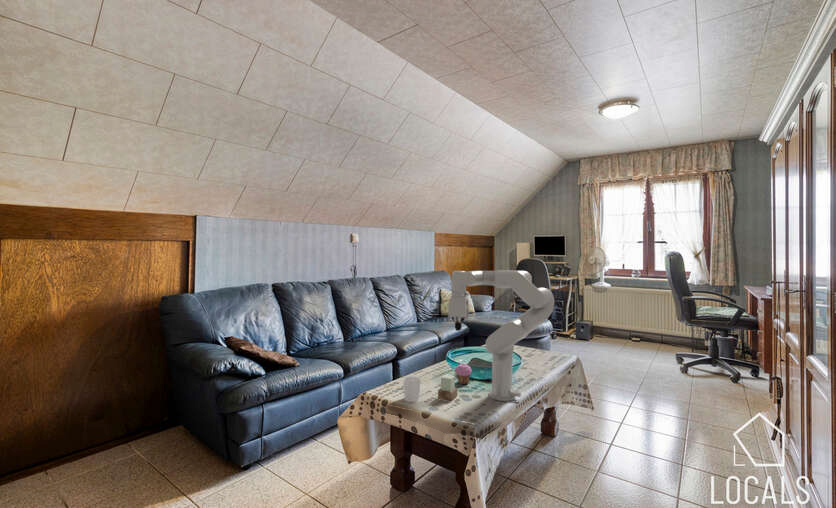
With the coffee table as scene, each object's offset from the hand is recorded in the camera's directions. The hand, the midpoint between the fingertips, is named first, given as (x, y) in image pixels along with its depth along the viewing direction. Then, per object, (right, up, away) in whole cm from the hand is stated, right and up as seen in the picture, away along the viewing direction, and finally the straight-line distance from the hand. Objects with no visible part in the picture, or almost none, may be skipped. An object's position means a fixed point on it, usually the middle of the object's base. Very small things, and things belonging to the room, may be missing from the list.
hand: (458, 330), depth 202 cm
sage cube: (-7, -25, -17) cm, 31 cm away
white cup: (-24, -29, -19) cm, 42 cm away
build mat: (-7, -29, -17) cm, 34 cm away
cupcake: (+3, -29, +5) cm, 30 cm away
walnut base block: (-7, -29, -17) cm, 34 cm away
